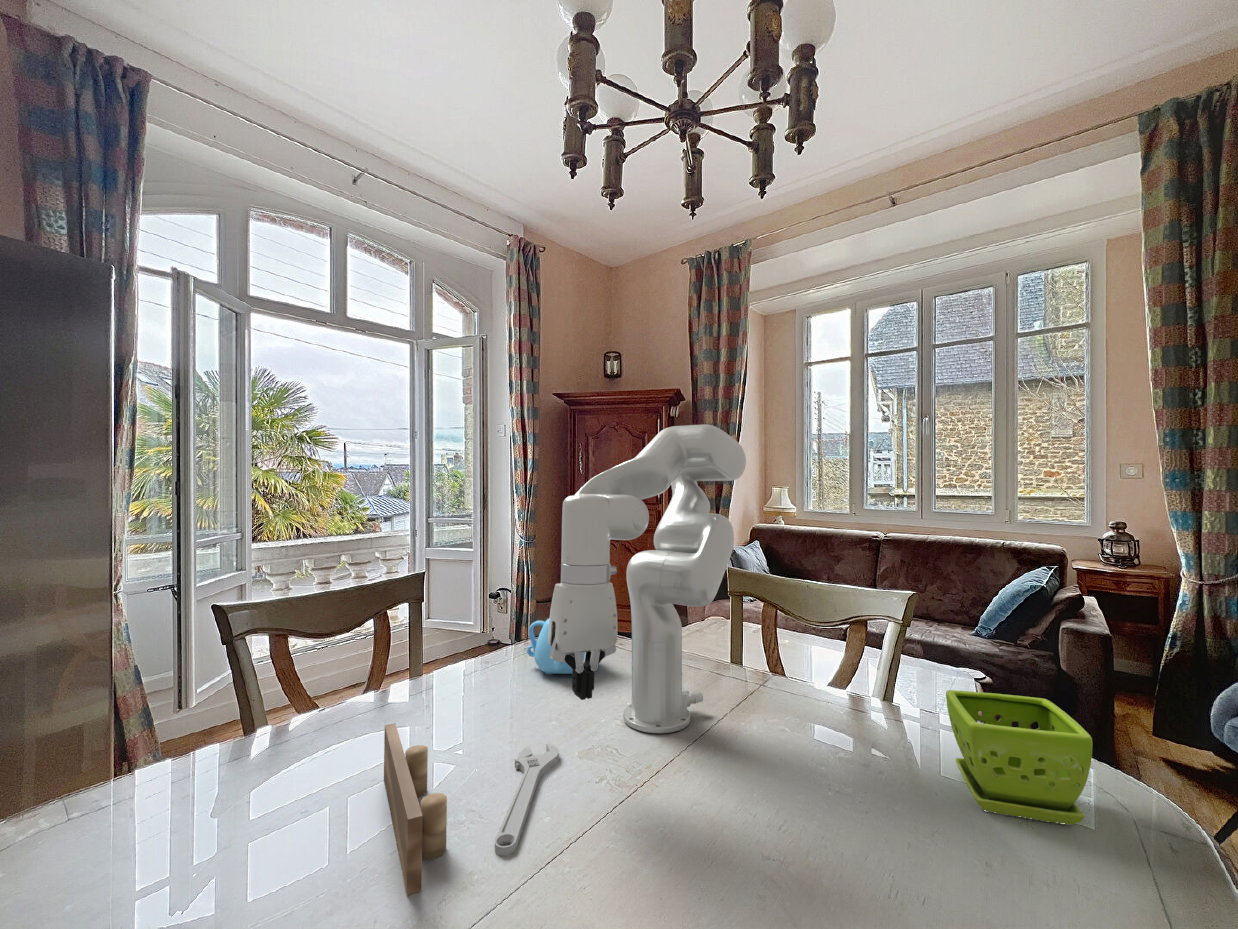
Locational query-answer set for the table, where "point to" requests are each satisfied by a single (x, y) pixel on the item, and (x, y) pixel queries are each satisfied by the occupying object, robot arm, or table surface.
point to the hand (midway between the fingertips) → (582, 696)
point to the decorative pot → (546, 651)
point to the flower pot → (1020, 755)
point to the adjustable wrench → (523, 796)
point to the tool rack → (412, 808)
